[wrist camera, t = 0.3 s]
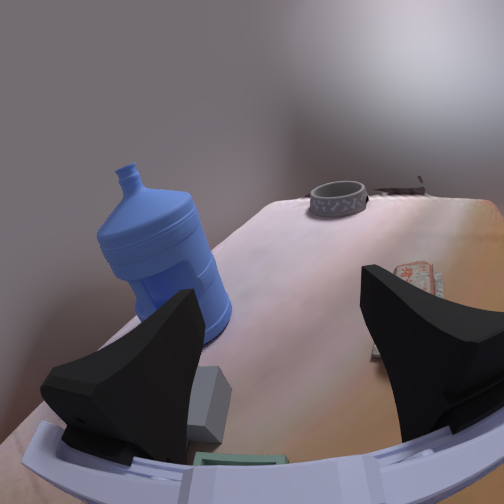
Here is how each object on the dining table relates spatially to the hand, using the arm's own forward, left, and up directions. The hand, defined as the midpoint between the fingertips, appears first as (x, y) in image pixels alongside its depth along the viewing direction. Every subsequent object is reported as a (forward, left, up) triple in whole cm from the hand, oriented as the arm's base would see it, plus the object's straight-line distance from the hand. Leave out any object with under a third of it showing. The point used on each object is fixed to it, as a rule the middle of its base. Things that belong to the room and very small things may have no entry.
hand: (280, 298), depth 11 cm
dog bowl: (+67, -13, -22) cm, 71 cm away
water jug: (+24, +20, -21) cm, 38 cm away
